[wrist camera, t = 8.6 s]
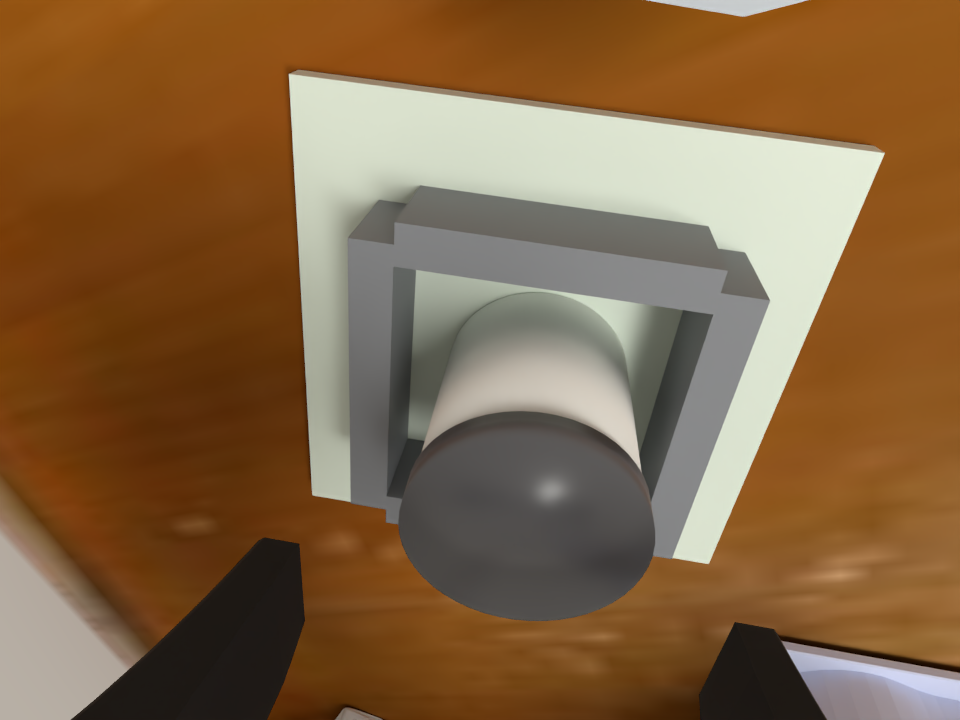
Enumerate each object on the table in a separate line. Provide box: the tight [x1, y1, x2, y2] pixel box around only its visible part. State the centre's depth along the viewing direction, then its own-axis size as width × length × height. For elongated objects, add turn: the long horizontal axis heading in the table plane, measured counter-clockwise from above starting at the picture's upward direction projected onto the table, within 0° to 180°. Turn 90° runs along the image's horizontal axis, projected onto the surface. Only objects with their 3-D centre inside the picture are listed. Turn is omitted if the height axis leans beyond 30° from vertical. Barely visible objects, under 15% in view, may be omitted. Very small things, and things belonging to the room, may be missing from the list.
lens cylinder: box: [398, 293, 655, 621], centre depth 15 cm, size 5×5×6 cm
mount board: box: [289, 70, 885, 564], centre depth 17 cm, size 13×13×3 cm
